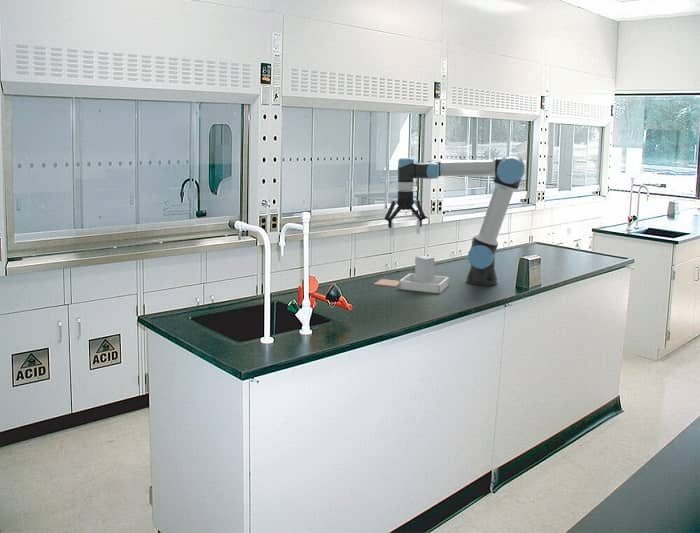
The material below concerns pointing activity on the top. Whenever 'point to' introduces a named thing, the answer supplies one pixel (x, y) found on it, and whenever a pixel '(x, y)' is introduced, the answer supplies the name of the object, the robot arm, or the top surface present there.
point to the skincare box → (424, 269)
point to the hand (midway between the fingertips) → (404, 234)
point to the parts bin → (424, 284)
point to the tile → (387, 283)
